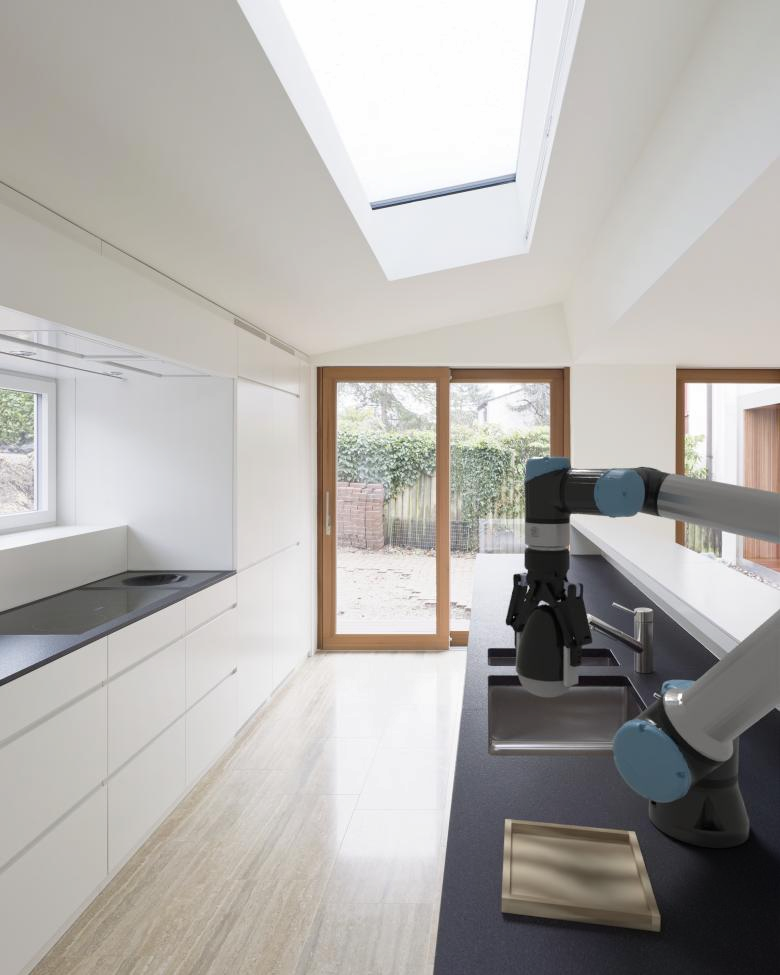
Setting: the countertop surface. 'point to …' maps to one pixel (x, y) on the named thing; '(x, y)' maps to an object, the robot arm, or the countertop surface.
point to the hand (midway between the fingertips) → (546, 675)
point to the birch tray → (577, 875)
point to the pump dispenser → (542, 654)
